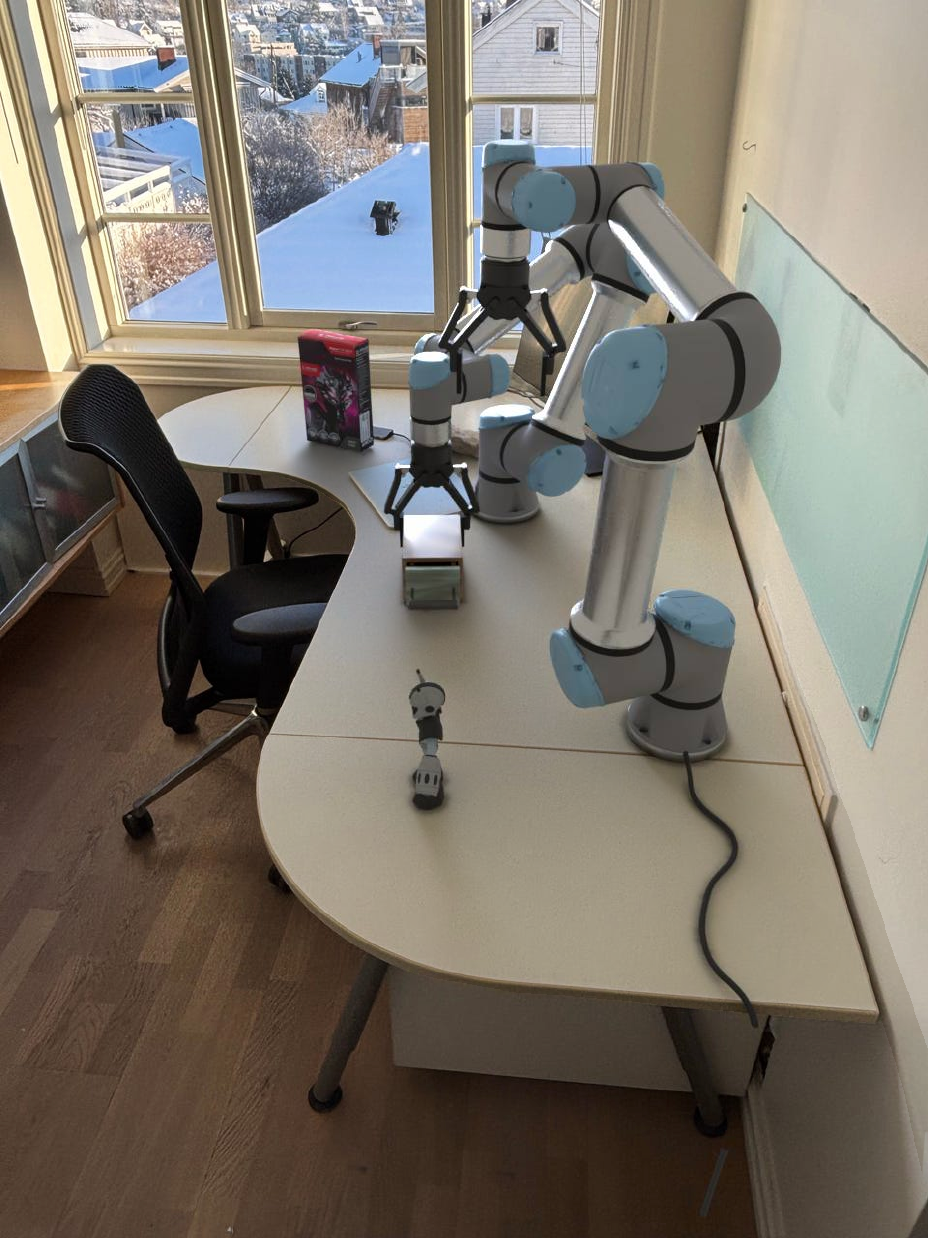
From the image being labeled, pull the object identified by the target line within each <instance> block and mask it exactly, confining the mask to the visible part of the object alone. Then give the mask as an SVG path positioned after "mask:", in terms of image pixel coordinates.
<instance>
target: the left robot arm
mask: <svg viewBox="0 0 928 1238" xmlns="http://www.w3.org/2000/svg"><path fill="white" fill-rule="evenodd" d="M588 277H591V279H590V281H589V282H590V285H591V288H592V292H593V294H592V297H591V299H590V301H589V304H588V305H587V308H586V310H585V313H584V315H583V317H582V320H581V323H580V325H579V326H578V329H577V331H576V334H575V336H574V339H573V340H572V343H571V345H570V347H569V350H568V352H567V354H566V357H565V359H564V361H563V364H562V366H561V368H560V371H559V373H558V376H557V378H556V380H555V382H554V385H553V388H552V390H551V392H550V395H549V396H548V398H547V399H548V400H547V402H546V404H545V406H544V408H543V410H542V411H540V412H538V413H536V412H535V409H533V407H531V406H528V405H525V404H500V405H495V406H492V407H488V408H487V409H485V410H484V411H483V412H482V413H481V414H480V416H479V423H478V430H477V431H479V457H478V475H477V479H476V481H475V482H473V483H472V481H471V479H470V476H469V466H468V463H467V462H462V463H461V464H454V463H453V461H452V450H451V440H450V439H451V425H452V409H453V406H456V405H461V404H467V403H470V402H476V401H480V400H485V399H492V398H493V397H494V398H495V397H497V396H500V395H504V394H505V393H506V392H507V391H508V390H509V388H510V386H511V381H512V380H511V376H512V375H511V374H512V373H511V368H510V365H509V363H508V361H507V359H506V358H505V357H504V356H503V355H501V354H499V353H491V354H490V353H487V354H485V355H482V353H483V352H485V351H486V350H488V349H489V348H490V347H491V346H493V345H494V344H495V343H496V342H498V341H499V340H500V339H501V338H503V337H504V336H505V335H507V333H509V332H510V331H512V329H514V328H516V326H518V325H519V324H520V323H522V322H521V320H520V319H519V318H518V317H517V318H516V319H513V320H505V319H500V320H493V319H492V318H490V317H489V316H488V317H487V318H486V319H485V321H484V322H483V323H481V324H480V326H479V327H478V328H477V329H476V330H475V331H474V332H473V333H472V335H471V336H470V337H469V338H468V339H467V340H466V341H465V343H464V344H463V345H462V346H461V347H460V348H459V349H463V360H462V392H461V394H457V372H451V371H450V353H449V351H448V350H446V349H440V348H439V346H438V344H439V340H440V338H441V336H442V334H443V333H442V334H439V333H428V334H425V335H423V336H422V337H421V338H420V339H419V340H418V341H417V342H416V344H415V347H414V351H413V356H412V357H411V358H410V361H409V369H408V380H407V383H408V388H409V390H408V391H409V416H410V417H409V431H410V432H409V433H410V435H409V436H410V439H411V441H410V463H409V465H408V464H407V465H406V464H405V465H402V463H399V462H397V463H395V464H394V477H393V480H392V483H391V486H390V488H389V491H388V493H387V497H386V499H385V502H384V504H383V505H384V506H383V513H384V514H385V515H391V516H392V517H393V530H394V531H396V532H399V544H400V545H399V546H400V548H402V549H403V526H404V515H405V513H404V510H405V509H406V507H407V505H408V504H409V503H410V502H411V500H412V499H413V497H414V496H415V495H416V493H417V492H418V491H419V490H420V488H421V487H422V488H423V489H428V488H434V489H435V488H436V489H440V488H441V487H442V488H443V489H444V490H445V492H447V494H448V495H449V496H450V497H451V499H452V500H453V501H454V503H455V504H456V506H457V507H458V508H459V510H460V511H459V515H460V523H461V537H462V548H465V531H470V529H471V517H472V515H474V516H475V517H476V518H478V519H481V520H483V521H486V522H490V523H496V524H516V523H522V522H524V521H528V520H530V519H531V518H533V517H534V516H536V515H537V513H538V511H539V497H538V494H537V493H539V494H540V495H542V496H545V497H549V498H554V497H555V498H556V497H561V496H562V495H565V493H567V492H570V491H571V490H573V489H574V488H575V487H576V486H577V485H578V484H579V482H580V481H581V480H582V478H583V477H584V474H585V472H586V470H587V469H586V468H587V461H586V459H587V458H586V457H587V456H586V454H585V452H584V450H583V447H584V444H585V443H586V440H587V437H586V436H587V435H586V434H585V430H584V427H585V425H586V423H587V422H586V419H585V417H584V412H583V408H582V407H583V405H584V399H582V398H581V388H582V379H583V373H584V369H585V365H586V362H587V360H588V357H589V355H590V353H591V351H592V349H593V348H594V346H595V345H596V344H597V342H598V341H599V340H601V339H602V338H604V337H605V336H606V335H607V334H608V333H610V332H612V331H615V330H620V329H626V328H629V325H630V322H631V320H632V318H633V316H634V313H635V312H636V311H637V310H638V309H641V308H643V307H645V306H647V304H648V302H649V299H650V298H651V295H653V294H658V293H657V292H656V291H655V289H654V288H653V287H652V285H651V284H650V283H649V281H648V280H647V278H646V277H645V276H644V274H643V273H642V272H641V270H640V269H639V268H638V266H637V265H636V264H635V262H634V261H633V260H632V258H631V257H630V256H629V254H628V253H627V251H626V250H625V249H624V247H623V246H622V245H621V243H620V242H619V241H618V239H617V238H616V237H615V235H614V234H613V233H612V232H611V231H610V229H609V228H608V227H607V225H606V224H604V223H599V224H582V225H569V227H567V228H565V229H564V230H563V231H561V232H560V233H559V234H557V235H556V236H555V237H553V239H551V240H549V242H548V243H547V244H546V246H545V252H543V253H542V254H541V255H539V256H538V257H537V258H536V259H535V260H533V261H532V262H530V271H529V289H530V291H541V290H542V289H543V288H547V289H548V294H549V300H550V299H552V298H553V297H554V296H555V295H557V293H559V292H560V291H561V290H563V289H564V288H565V287H566V286H568V285H570V286H576V285H577V284H578V283H580V282H581V281H582V280H585V278H588ZM481 307H482V306H481V304H480V303H479V304H478V305H477V306H476V307H474V308H473V309H472V310H470V311H469V312H468V313H467V314H466V315H464V316H463V317H462V318H460V319H459V321H458V323H457V325H456V327H455V329H454V331H453V333H452V335H451V337H450V339H449V340H451V341H453V340H454V339H455V338H456V337H457V336H458V334H459V333H460V332H461V331H462V330H463V329H464V328H465V326H466V325H467V324H468V323H469V322H470V321H471V320H472V318H473V317H474V316H475V315H476V314H477V312H478V311H479V310H480V308H481ZM540 307H541V306H538V305H537V304H536V302H535V300H533V299H531V301H530V302H529V303H528V305H527V306H526V307H525V308H526V309H527V310H528V311H529V313H530V315H531V314H533V313H534V312H535V311H536V310H538V309H539V308H540ZM408 473H409V474H410V475H411V476H412V478H413V479H412V480H411V481H410V484H409V485H408V487H407V488H406V490H405V491H404V493H403V494H402V495H401V497H400V498H399V499H398V501H397V502H396V504H395V505H394V503H395V500H396V497H397V495H398V491H399V488H400V486H401V484H402V478H405V477H406V476H407V474H408ZM454 473H456V475H457V477H459V478H461V481H462V485H463V487H464V490H465V492H466V495H467V498H468V500H469V503H468V502H467V501H466V500H465V498H464V496H463V495H462V494H461V493H460V491H459V490H458V488H456V486H455V484H454V483H453V481H452V480H451V476H453V474H454Z"/></svg>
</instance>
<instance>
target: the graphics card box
mask: <svg viewBox="0 0 928 1238" xmlns="http://www.w3.org/2000/svg"><path fill="white" fill-rule="evenodd" d="M297 345H298V346H297V347H298V355H299V356H298V357H299V367H300V377H301V389H302V399H303V410H304V411H303V412H304V421H305V422H304V423H305V433H306V441H307V442H311V443H316V444H320V445H324V446H329V447H333V448H338V449H342V450H346V451H350V452H354V453H359V454H360V453H363V452H364V451H366V450H368V449H369V448H371V447H373V446H374V445H375V436H374V418H373V417H374V416H373V403H372V402H373V401H372V383H371V382H372V380H371V361H370V339H369V338H368V337H360V336H355V335H354V336H353V335H349V334H344V333H343V334H342V333H338V332H332V331H327V330H321V329H316V328H310V329H307V330H305V331H303V332H301V334H300V333H299V335H298V336H297Z"/></svg>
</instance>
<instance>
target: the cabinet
mask: <svg viewBox="0 0 928 1238" xmlns="http://www.w3.org/2000/svg"><path fill="white" fill-rule="evenodd" d="M401 551H402V553H401V564H402V566H401V568H402V595H403V596H402V597H403V603H404V604H406V575H405V567H406V566H410V562H456V566H460V603H463V600H464V599H463V595H464V593H463V591H464V590H463V589H464V587H463V586H464V585H463V584H464V553H463V547H462V537H461V523H460V514H417V515H414V514H408V515H407V514H404V526H403V548H402V550H401Z"/></svg>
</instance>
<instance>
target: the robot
mask: <svg viewBox="0 0 928 1238" xmlns="http://www.w3.org/2000/svg"><path fill="white" fill-rule="evenodd" d="M415 670H416V671H415V672H416V675H417V677H418V680H419V682H420V683H418V684H416V685H415V686H414V687H412V689H410V692H409V694H408V700H409V705H410V707H411V711H412V712H411V715H412V719H414V720H415V725H416V727H417V728H418V744H419V746H420V748H421V751H422V754H423V755H422V757H421V759H420V762H419V764H418V767H417V769H416V770H415V771H414V772H413V774H412V775H411V777H412V780H413V783H414V784H415V793H414V796H413V798H412V803H413V804H414V805H415V806H416V807H417V808H418V809H421V810H432V809H435V808H436V807H439V806H441V805H442V804H443V802H444V799H445V794H444V787H443V784H442V782H443V781H444V773H443V769H442V764H441V761H440V758H439V757H438V756H437V753H438V750H439V741H441V742H442V741H443V739H444V729H443V724H442V722H441V714H442V713H443V710H442V706H444V704H445V703H446V692H445V690H444V687H442V686H441V685H440V684H438V683H437V682H435V681H429V680H428V681H426V679H425V677H424V676H423V674H422V671H421V670H420V669H419V668H417V669H415Z"/></svg>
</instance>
